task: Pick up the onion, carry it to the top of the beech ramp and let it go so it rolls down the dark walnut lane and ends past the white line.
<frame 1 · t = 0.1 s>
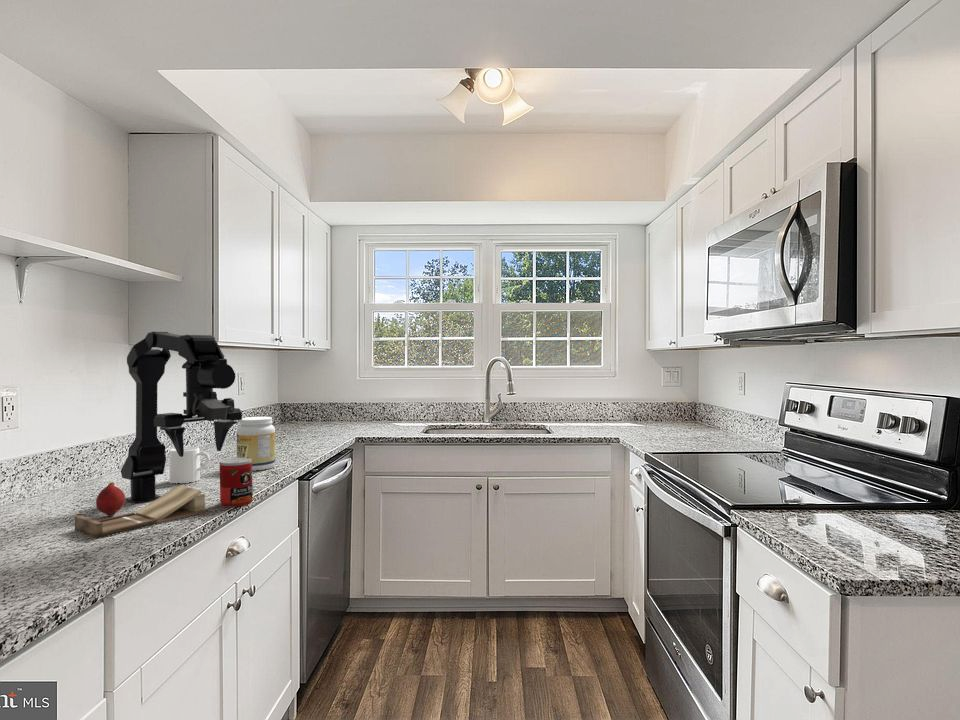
hand: (200, 453, 135), 15 cm above the worktop, tool pointing down, fingers open, 9 cm apart
supplement tub: (256, 468, 192), on the worktop
mug: (191, 481, 172), on the worktop
lane: (142, 520, 130), on the worktop
onion: (111, 516, 135), on the worktop
canned food: (236, 503, 146), on the worktop
ramp: (169, 514, 135), resting on lane
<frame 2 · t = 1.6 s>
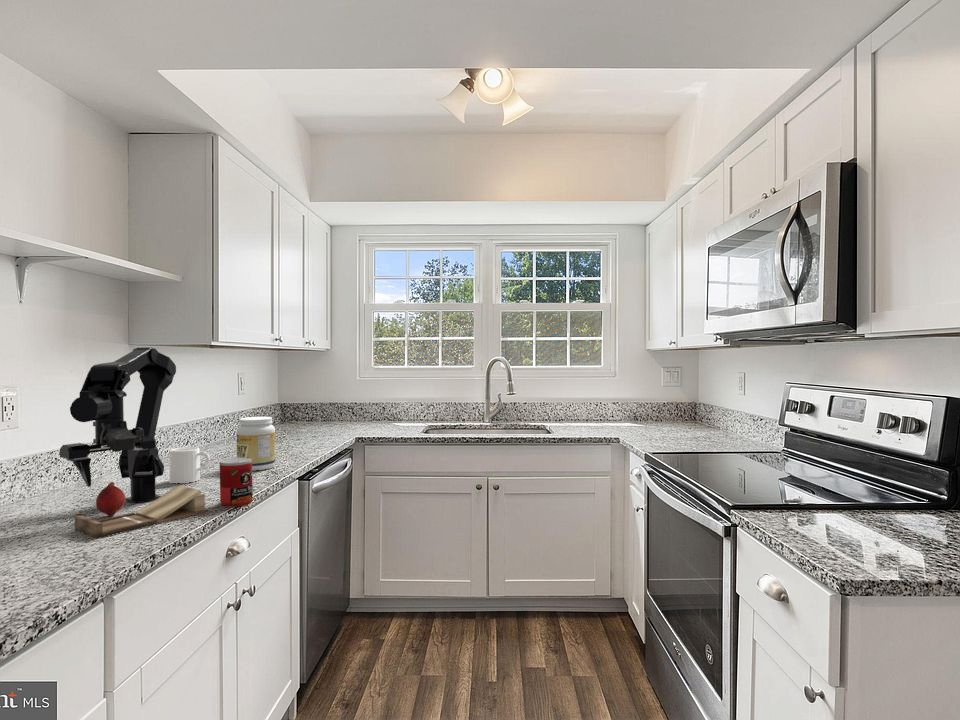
hand: (110, 482, 135), 8 cm above the worktop, tool pointing down, fingers open, 9 cm apart
nothing on the worktop moved.
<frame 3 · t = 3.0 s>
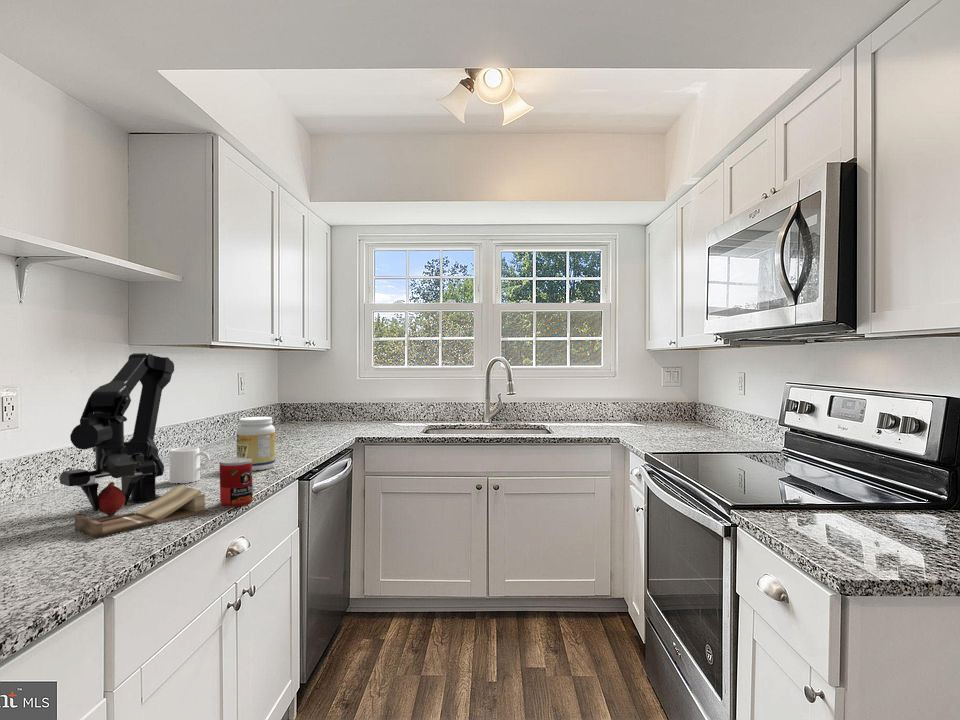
hand: (110, 508, 135), 2 cm above the worktop, tool pointing down, fingers closed on onion, 6 cm apart
onion: (111, 516, 135), on the worktop, touching gripper
everything else where it was.
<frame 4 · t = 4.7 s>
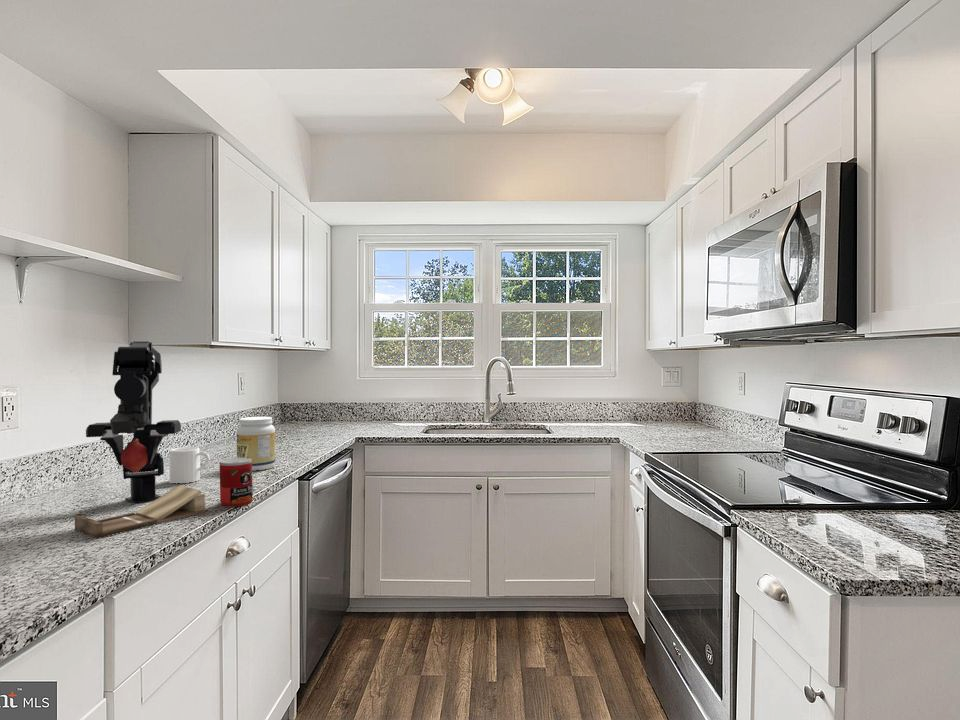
hand: (135, 464, 135), 12 cm above the worktop, tool pointing down, fingers closed on onion, 6 cm apart
onion: (135, 473, 135), point 10 cm above the worktop, touching gripper
everything else where it was.
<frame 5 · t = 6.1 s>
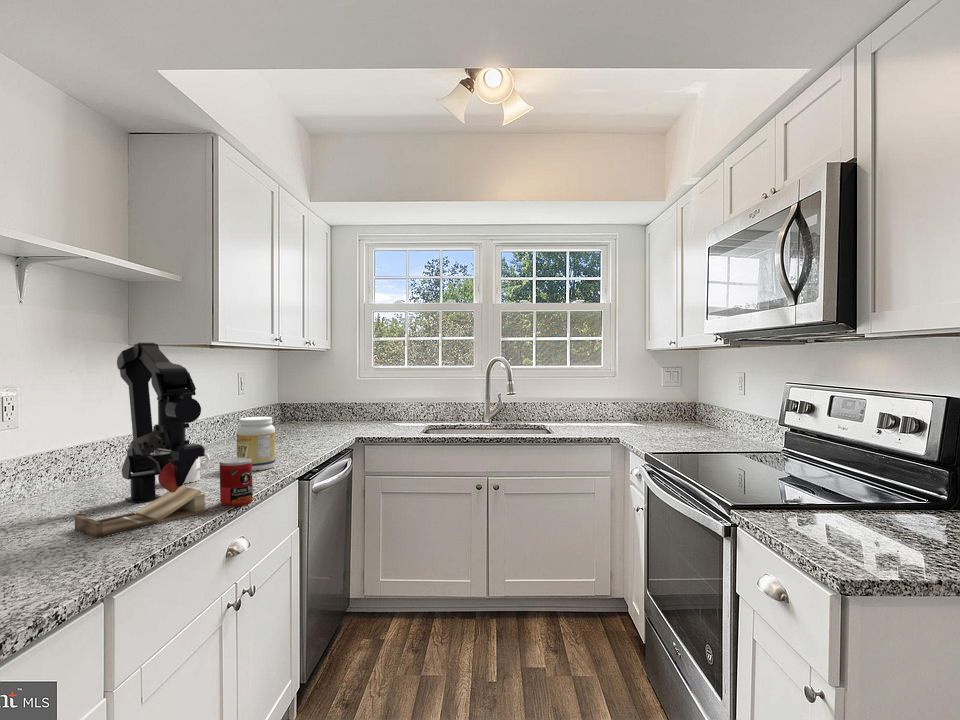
hand: (172, 484, 136), 7 cm above the worktop, tool pointing down, fingers closed on onion, 6 cm apart
onion: (172, 493, 136), point 5 cm above the worktop, touching gripper
everything else where it was.
when the fingers open (7 cm above the worktop, at t = 6.6 s): onion moves 18 cm, resting on lane.
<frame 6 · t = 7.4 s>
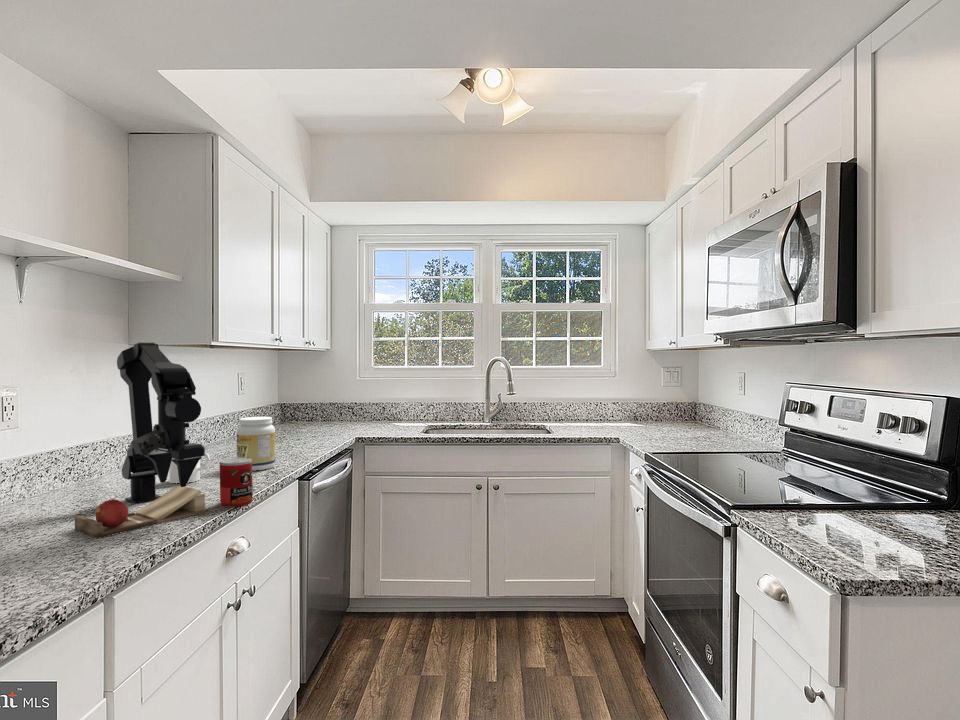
hand: (172, 484, 136), 7 cm above the worktop, tool pointing down, fingers open, 9 cm apart
onion: (96, 508, 120), point 6 cm above the worktop, touching lane
everything else where it was.
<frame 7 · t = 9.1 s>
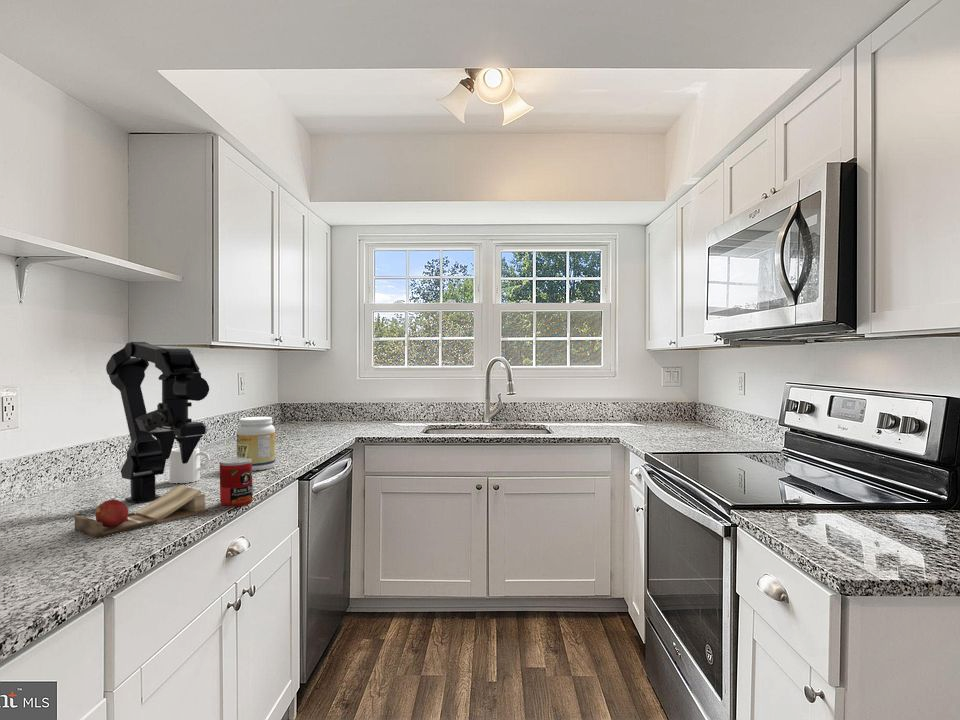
hand: (175, 461, 141), 12 cm above the worktop, tool pointing down, fingers open, 9 cm apart
nothing on the worktop moved.
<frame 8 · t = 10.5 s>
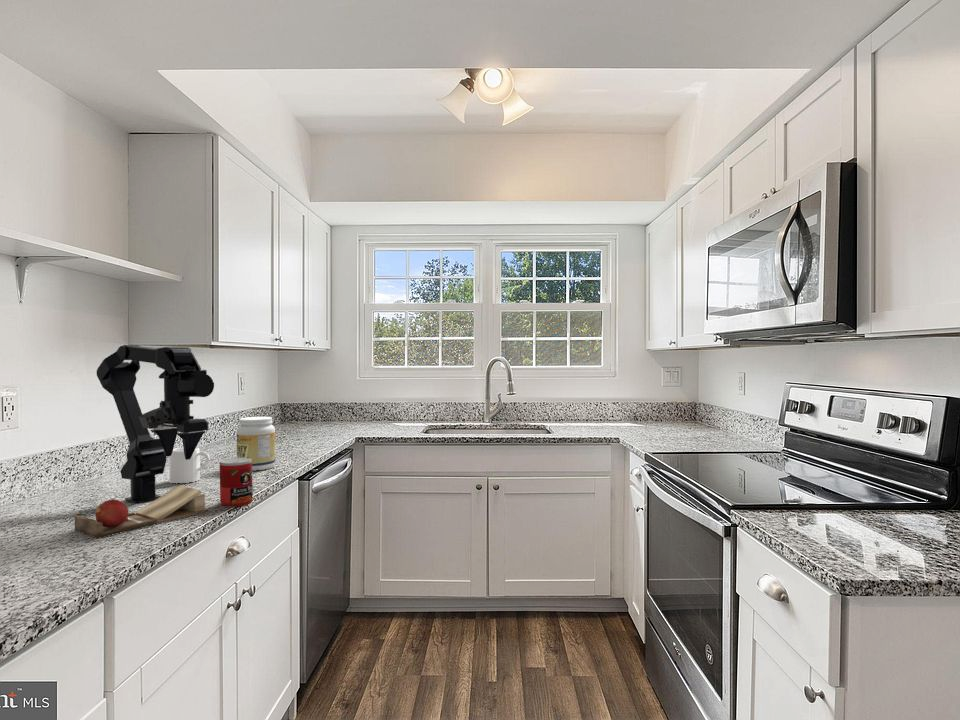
hand: (178, 457, 144), 12 cm above the worktop, tool pointing down, fingers open, 9 cm apart
nothing on the worktop moved.
at the end: onion inside the target area (3.7 cm from its centre), point 5.7 cm above the worktop; the gripper is holding nothing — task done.
